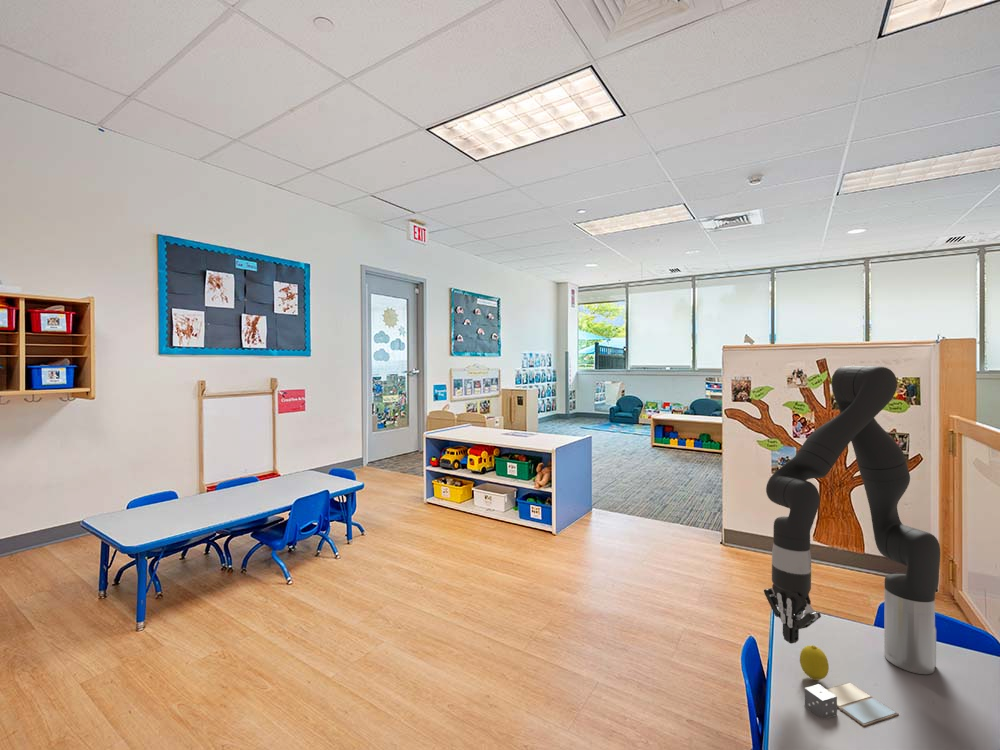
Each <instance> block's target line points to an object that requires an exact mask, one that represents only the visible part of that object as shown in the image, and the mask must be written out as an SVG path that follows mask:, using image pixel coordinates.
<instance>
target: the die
mask: <svg viewBox="0 0 1000 750" xmlns="http://www.w3.org/2000/svg"><path fill="white" fill-rule="evenodd" d="M827 689H828V688H825V687H824V686H823V685H821V684H820V683H817V684H814V685H810V686H806V687H804V707H806V708H807V709H808V710H809V711H811V712H812V713H813V714H815V715H816V716H817V717H818V718H819V719H822V720H826V719H829V718H831V717H834V716H837V715H838V708H837V696H835V695H834V694H833V693H831V692H830V691H828V690H827Z"/></svg>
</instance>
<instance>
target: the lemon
mask: <svg viewBox="0 0 1000 750" xmlns="http://www.w3.org/2000/svg"><path fill="white" fill-rule="evenodd" d="M799 664H800V667H801V669H802V671H803V672H804V674H805V675H806V676H807V677H810V678H811V679H812V680H813V681H817V680H820V681H821V680H823V679H825V678H826V677H827V676H828V674H829V673H828V672H829V669H830V668H829V661H828V658H827V655H826V654H825V652H824V651H823V650H822V649H821V648H819V647H817V646H816V645H814V644H813V645H807V646H803V648H802V649H801V651H800V655H799Z"/></svg>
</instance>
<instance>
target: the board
mask: <svg viewBox="0 0 1000 750" xmlns="http://www.w3.org/2000/svg"><path fill="white" fill-rule="evenodd" d="M826 689H827V690H828V691H830V692H831V693H833V694H834V695H835V696H837V710H840V711H841V712H843V713H844V714H845V715H847V716H848V717H850V718H851V719H852V720H854V721H855V722H856V723H858V724H859V725H861V726H863V727H867V726H871V725H872V724H873V725H874V724H877V723H879V722H882V721H885V720H888V719H892V718H894V717H897V716H899V713H898V712H897V711H895V710H893V709H892V708H890V707H889V706H888V705H885V703H882V702H881V701H880V700H878V699H876V698H875V697H873V696H872V695H870V694H869V693H867V692H866V691H864V690H863V689H861V688H860V687H858V686H856V685H855V684H853V683H852V682H850V681H849V682H846V683H843V684H839V685H836V686H833V687H829V688H826Z"/></svg>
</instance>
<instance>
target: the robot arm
mask: <svg viewBox="0 0 1000 750" xmlns="http://www.w3.org/2000/svg"><path fill="white" fill-rule="evenodd" d="M897 389H898V380H897V376H896V374H895V372H893V371H892V370H891V368H888V367H886V366H882V365H881V366H879V365H878V366H877V365H846V366H845V365H844V366H841V367H838V368H837V369H836V370H835V371H834V373H833V375H832V378H831V391H832V393H833V397H834V399H835V402H836V405H837V407H838V410H839V411H840V413H839V414H837V415H836V416H835V417H833V418H832V419H831V420H828V421H827V422H825V423H824V424H823V425H820V426H818V428H817V429H815V430H814V431H813V432H812V433H811V434H809V436H808V437H807V438H806V439H805V441H804V443H803V444H802V445H801V446H800V448H799V449H798V450H797V453H796V454H795V456H794V457H792V458H791V459H789V460H788V461H787V462H785V463H784V464H783V465H781V467H780V468H779V469H777V470H776V471H775V472H774V473H773V474H772V475H771V476H770V478H769V479H768V480H767V483H766V487H765V492H766V496H767V499H769V501H771V502H772V503H774V504H776V505H779V506H782V507H785V508H788V509H789V514H788V516H778V517H776V519H774V522H773V536H772V537H773V544H772V550H771V583H772V587H770V588H765V589H763V593H764V596H765V598H766V600H767V602H768V604H769V606H770V608H771V610H772V613H773V614H774V616H775V617H776V618H779V619H780V622H781V623H782V635H783V640H784V641H786V642H787V643H789V644H796V643H797V642H798V641H799V635H800V633H799V630H802V629H803V630H804V629H807V628H808V627H810V626H811V625H812V624H814V623H816V622H817V621H818V620H819V619H820V618H821V617H822V615H821V613H820V612H819V611H815V610H814V609H813V607H812V605H811V604H812V602H811V599H810V592H811V589H812V555H811V530H812V528H813V525H814V521H815V518H816V516H817V513H818V510H819V508H820V503H821V497H820V493H819V491H818V488H817V487H816V485H815V484H814V483H812V482H811V481H808V480H810V479H812V480H813V479H823V478H825V477H826V476H827V475H828V474H829V472H830V471H831V470H832V468H833V467H834V465H835V464H836V462H837V461H838V459H839V458H840V456H841V455H842V453H843V452H844V451H845V449H846V448H847V447H848V446H849V444H850V443H851V444H852V448H853V451H854V456H855V459H856V462H857V467H858V472H859V474H860V476H861V480H862V484H863V487H864V490H865V494H866V498H867V502H868V506H869V511H870V517H871V523H872V530H873V536H874V537H873V538H874V541H875V545H876V548H877V550H878V552H879V553H880V554H881V555H882V557H884V558H887V559H888V560H891V561H893V562H896V563H898V564H901V565H904V566H906V573H891V574H887V575H886V576H885V577H884V591H883V592H884V614H883V615H884V620H883V621H884V629H883V630H884V631H883V632H884V633H883V634H884V635H883V636H884V638H883V639H884V641H883V642H884V643H883V644H884V645H883V647H884V648H883V650H884V651H883V652H884V653H883V654H884V658H885V659H886V660H887V661H888V662H890V663H891V664H892V665H894V667H898V668H899V669H902V670H904V671H907V672H910V673H914V674H919V675H931V674H933V673H935V670H936V669H935V667H936V666H937V627H936V616H935V615H936V607H935V606H936V592H937V590H938V586H939V580H940V579H939V577H940V576H939V574H940V565H941V563H940V562H941V546H940V543H939V541H938V540H939V539H937V536H935V535H934V534H932V533H930V532H927V531H924V530H921V529H918V528H915V527H911V526H908V525H904V524H903V523H902V521H901V520H900V516H899V511H898V505H899V502H900V499H902V497H903V496H904V494H905V493H906V491H907V489H908V487H909V485H910V483H911V482H910V481H911V474H910V469H909V466H908V463H907V460H906V456H905V453H904V451H903V449H902V448H901V447H900V445H899V444H898V442H896V440H895V439H894V438H893V437H892V436H891V435H890V434H889V433H888V432H887V431H886V430H885V429H884V428H883V427H882V426H881V424H880V423H878V421H877V420H876V419H875V417H877V415H878V414H879V413H881V411H882V410H883V409H884V408H886V406H887V405H888V404H889V403H890V402H891V401H892V399H893V397H894V396H895V394H896V392H897Z"/></svg>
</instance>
